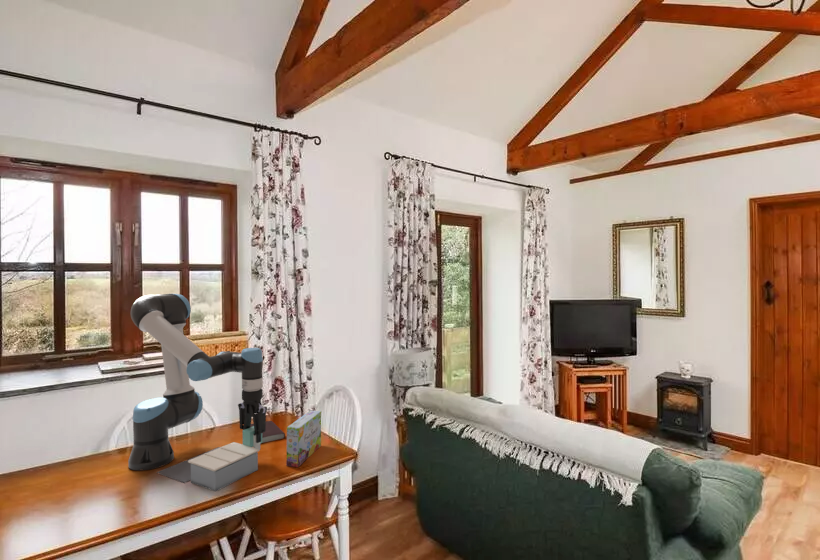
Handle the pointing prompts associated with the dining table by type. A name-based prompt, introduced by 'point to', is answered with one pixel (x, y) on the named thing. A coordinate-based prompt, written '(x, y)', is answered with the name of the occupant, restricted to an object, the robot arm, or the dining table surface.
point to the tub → (224, 473)
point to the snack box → (303, 438)
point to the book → (271, 432)
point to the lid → (227, 453)
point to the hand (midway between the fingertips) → (252, 449)
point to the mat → (180, 470)
